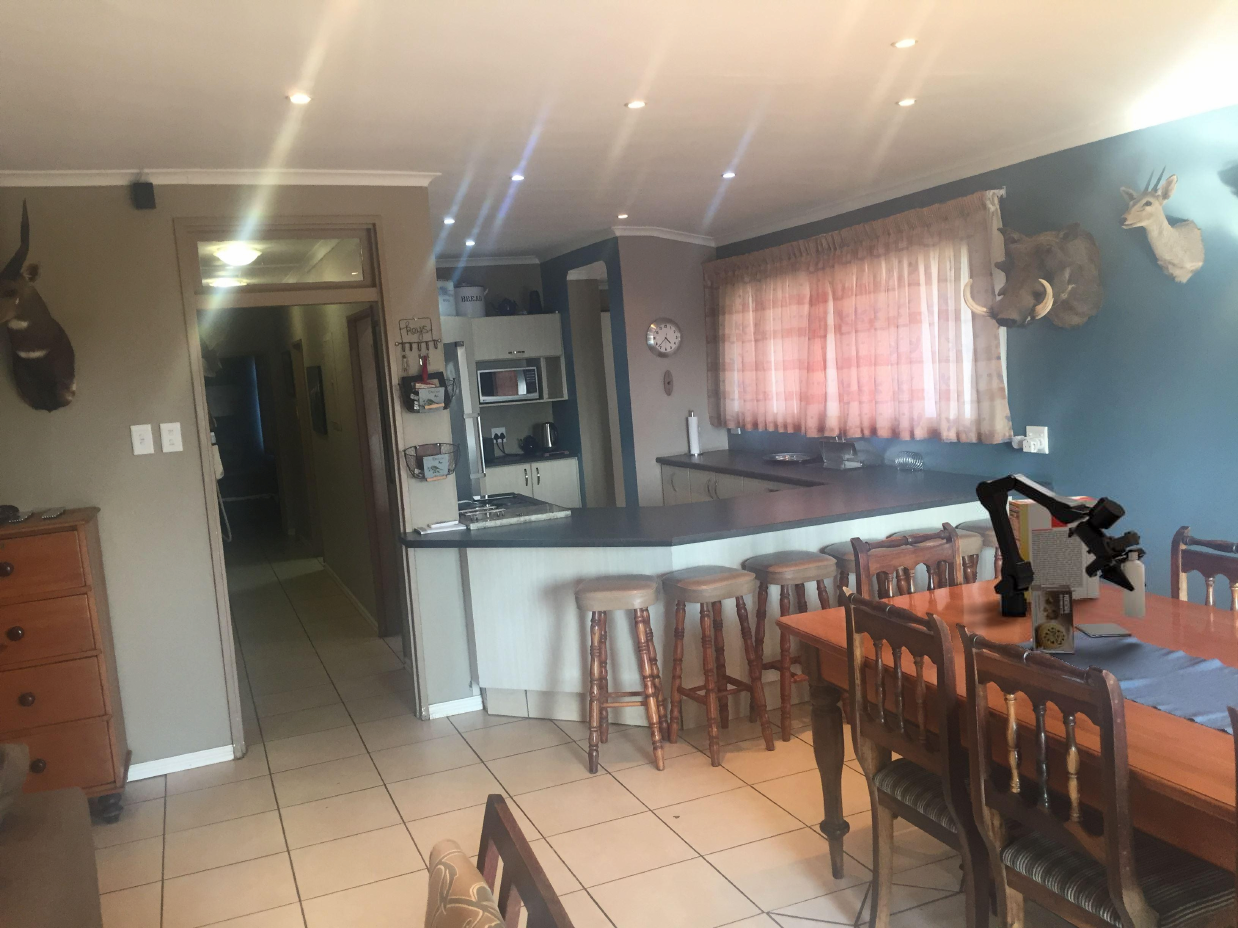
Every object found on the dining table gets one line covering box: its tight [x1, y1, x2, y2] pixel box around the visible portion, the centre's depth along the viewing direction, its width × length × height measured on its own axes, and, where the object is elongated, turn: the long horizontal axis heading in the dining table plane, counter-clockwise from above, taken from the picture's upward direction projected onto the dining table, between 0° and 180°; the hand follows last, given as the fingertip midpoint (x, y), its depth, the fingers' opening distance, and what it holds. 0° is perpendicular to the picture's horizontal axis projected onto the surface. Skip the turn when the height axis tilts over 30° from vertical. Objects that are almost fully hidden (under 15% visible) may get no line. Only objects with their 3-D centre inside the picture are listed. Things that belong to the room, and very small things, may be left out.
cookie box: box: [1030, 585, 1076, 654], centre depth 224 cm, size 9×6×16 cm
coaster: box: [1074, 622, 1133, 637], centre depth 237 cm, size 10×10×1 cm
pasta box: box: [1008, 495, 1100, 603], centre depth 273 cm, size 23×8×30 cm, turn 88°
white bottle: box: [1122, 552, 1146, 619], centre depth 228 cm, size 5×5×16 cm
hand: (1139, 588), depth 227 cm, fingers closed on white bottle, 5 cm apart
